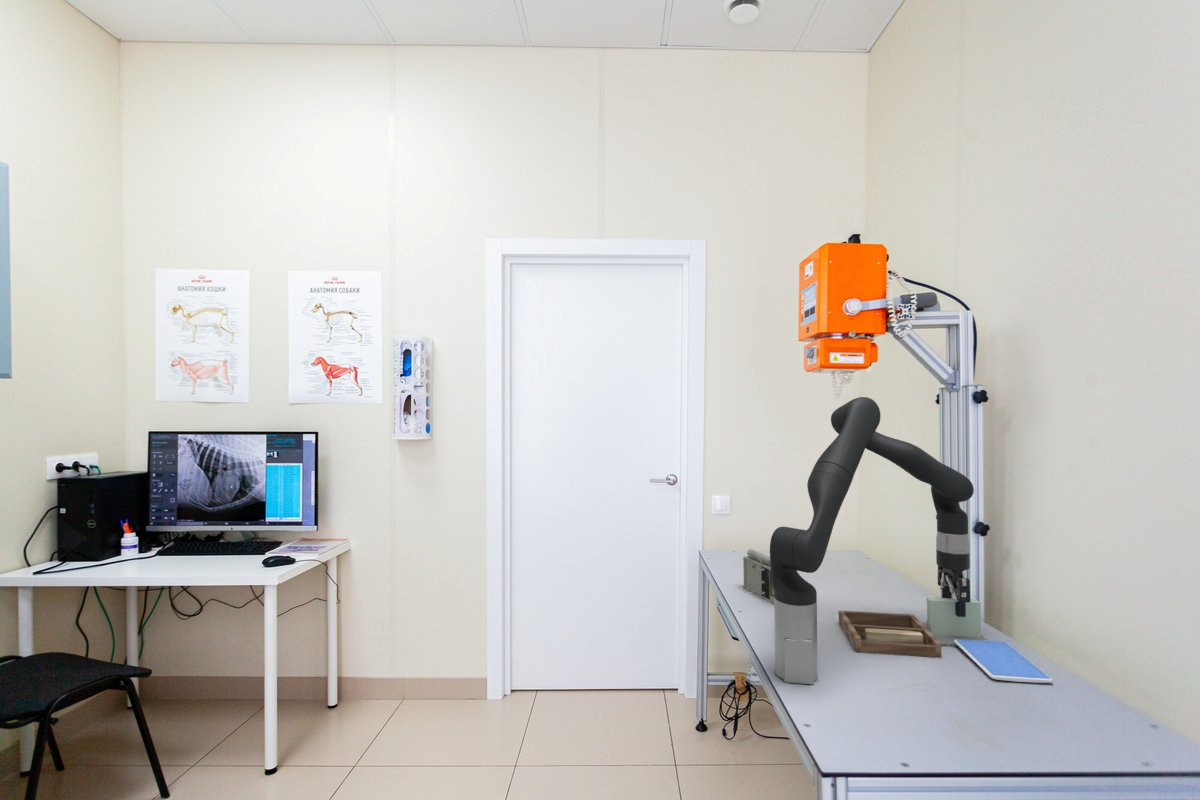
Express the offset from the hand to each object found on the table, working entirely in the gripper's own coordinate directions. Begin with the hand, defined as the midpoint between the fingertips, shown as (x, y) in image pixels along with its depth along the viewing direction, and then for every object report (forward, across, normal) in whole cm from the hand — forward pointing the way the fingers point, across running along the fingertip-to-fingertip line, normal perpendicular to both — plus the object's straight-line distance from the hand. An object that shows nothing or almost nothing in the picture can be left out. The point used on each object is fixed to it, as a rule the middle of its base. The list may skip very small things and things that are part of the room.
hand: (953, 610), depth 151 cm
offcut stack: (+7, -10, +18) cm, 22 cm away
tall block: (+6, 0, 0) cm, 6 cm away
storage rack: (+7, -5, +18) cm, 20 cm away
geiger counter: (+7, +21, +44) cm, 49 cm away
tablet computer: (+7, -16, -4) cm, 17 cm away
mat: (+7, 0, 0) cm, 7 cm away
